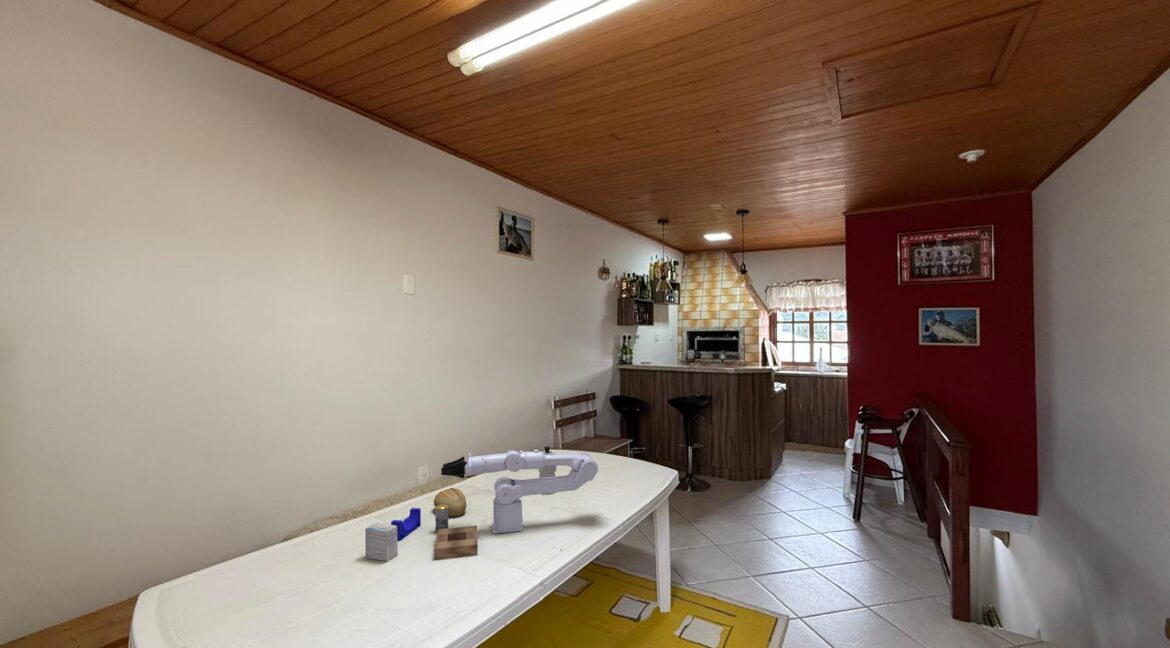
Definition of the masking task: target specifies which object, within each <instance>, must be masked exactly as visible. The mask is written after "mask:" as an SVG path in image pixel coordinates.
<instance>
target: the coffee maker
mask: <svg viewBox="0 0 1170 648" xmlns="http://www.w3.org/2000/svg"><path fill="white" fill-rule="evenodd" d="M543 448H544V452H542V453H543V454H544V455H555V454H556V453H555V452H552V451H551V447H550V446H547V445H546V446H544V447H543ZM557 466H558V465H545V466H544V467H543V468H542V469H537V470H538V472H539V477H538V478H544V477H554V476H556V471H557ZM553 494H556V493H555V492H554V493H545V494H544V495H553Z"/></svg>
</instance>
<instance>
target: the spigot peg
mask: <svg viewBox="0 0 1170 648" xmlns="http://www.w3.org/2000/svg"><path fill="white" fill-rule="evenodd" d="M447 528H449V515H448V505H446V504H441V505H437V506H436V507H435V533H436V534H437V530H438V529H447Z"/></svg>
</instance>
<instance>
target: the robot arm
mask: <svg viewBox="0 0 1170 648" xmlns="http://www.w3.org/2000/svg"><path fill="white" fill-rule="evenodd" d="M543 453H544V452H543V451H539V450H538V449H533V451H523V450H519V451H516V450H513V449H509V450H507V452H506V453H493V454H485V455H476V456H472V453H471V452H469V453H468V460H465V456H462V457H459V458H457V459H456V460H453V461H451V462H446V463H444V464H442V467H441V468H440V471H441V473H440V474H441V476H448V477H449V476H452V477H457V478H460V479H465V475H466V474H469V477H471V476H474V475H475V476H476V475H482V474H484V475H485V474H491V473H497V472H498V473H500V472H504V471H509V472H512V473H517V472H520V471H521V470H538V469H542V468H543V467H544V466H545V465H557V466H563V467H564V466H565V467H566V466H567V467H569V468H571V470H569V472H568V474H565V475H555V476H554V477H544V478H539V477H537V478H536V477H535V478H527V479H521V478H511V477H507V476H501V477H499V478H497V479H496V480H495V482H494V485H493V486H494V487H493V489H494V491H495V493H494V494H495V496H494V498H493V506H492V507H493V510H492V511H493V522H491V529H492V530H491V531H492V534H494V535H495V534H504V533H512V532H522V531H523V504H522V503H523V502H522V497H526V496H536V495H546V494H545V493H553V494H555V493H554V492H557V493H563V492H570V491H577V490H579V488H581V487H583V485H585V484H587V483H589V482H591V481H594V478H595V477H596V475H597V473H598V471H599V465H598V464H597V462H596V461H595V460H594V459H593V458H592V457H591V455H589V454H587V453H579V452H573V453H560V454H557V453H554V454H555V455H544V454H543Z"/></svg>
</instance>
